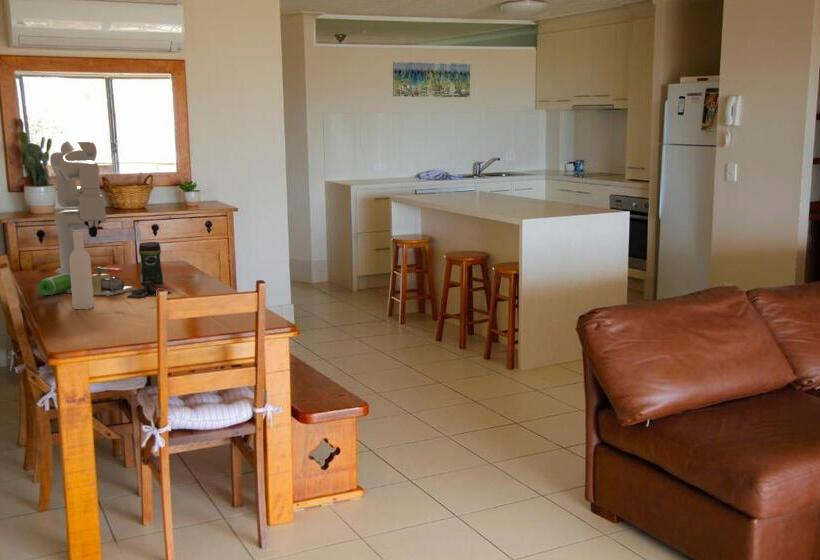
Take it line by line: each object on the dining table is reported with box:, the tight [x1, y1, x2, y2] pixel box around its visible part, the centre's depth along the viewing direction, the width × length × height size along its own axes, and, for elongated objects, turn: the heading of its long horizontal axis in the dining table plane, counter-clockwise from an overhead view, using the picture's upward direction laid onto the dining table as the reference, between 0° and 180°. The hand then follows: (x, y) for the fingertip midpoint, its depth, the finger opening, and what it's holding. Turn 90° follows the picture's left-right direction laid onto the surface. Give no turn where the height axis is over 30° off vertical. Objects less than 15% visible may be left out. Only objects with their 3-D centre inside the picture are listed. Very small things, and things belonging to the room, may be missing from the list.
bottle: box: [69, 230, 95, 310], centre depth 341 cm, size 8×8×30 cm
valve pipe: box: [65, 273, 134, 297], centre depth 377 cm, size 23×16×7 cm
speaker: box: [37, 273, 71, 296], centre depth 375 cm, size 18×7×8 cm, turn 169°
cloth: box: [126, 281, 173, 299], centre depth 371 cm, size 22×19×6 cm
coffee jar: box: [138, 241, 164, 285], centre depth 395 cm, size 10×8×19 cm
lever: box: [93, 266, 123, 274], centre depth 374 cm, size 14×4×3 cm, turn 61°
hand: (93, 236), depth 364 cm, fingers closed
